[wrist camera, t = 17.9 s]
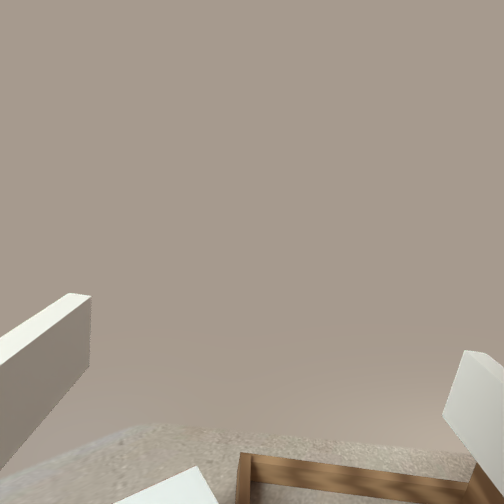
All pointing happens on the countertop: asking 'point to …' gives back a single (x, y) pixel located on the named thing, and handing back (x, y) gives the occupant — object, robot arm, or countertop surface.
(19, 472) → the countertop surface
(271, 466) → the wooden u-shaped frame
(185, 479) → the small box
